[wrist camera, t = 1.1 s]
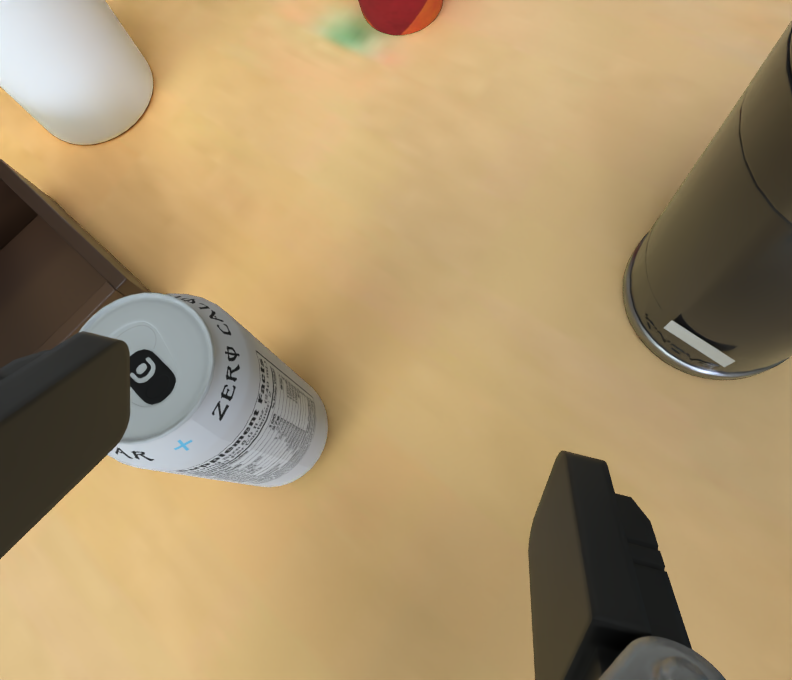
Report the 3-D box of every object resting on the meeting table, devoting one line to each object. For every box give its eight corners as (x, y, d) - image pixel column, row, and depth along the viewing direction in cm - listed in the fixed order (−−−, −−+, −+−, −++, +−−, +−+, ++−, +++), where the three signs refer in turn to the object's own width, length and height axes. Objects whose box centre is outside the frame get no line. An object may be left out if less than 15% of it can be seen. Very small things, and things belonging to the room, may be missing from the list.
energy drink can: (279, 356, 34) (150, 239, 20) (354, 428, 32) (272, 358, 18) (202, 434, 33) (7, 371, 19) (274, 512, 32) (122, 508, 17)
